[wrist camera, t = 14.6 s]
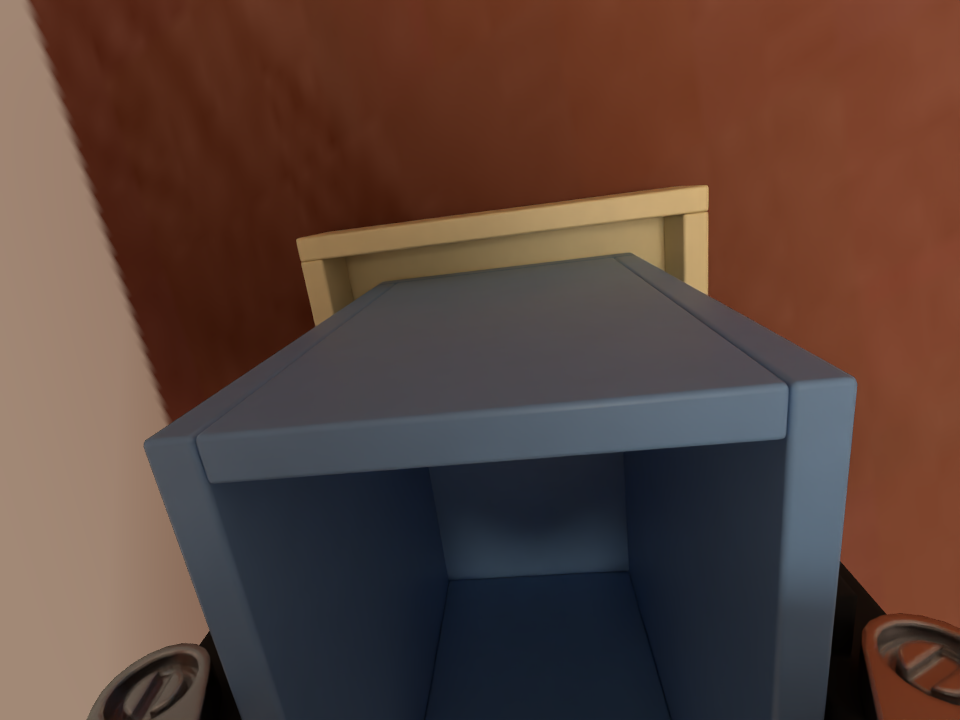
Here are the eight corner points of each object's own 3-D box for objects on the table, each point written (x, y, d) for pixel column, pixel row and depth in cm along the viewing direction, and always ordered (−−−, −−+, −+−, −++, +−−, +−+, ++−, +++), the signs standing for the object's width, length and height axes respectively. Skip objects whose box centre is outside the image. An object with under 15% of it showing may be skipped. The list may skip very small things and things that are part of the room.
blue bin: (380, 281, 13) (139, 442, 5) (631, 251, 12) (862, 377, 4) (436, 582, 15) (346, 1016, 7) (643, 571, 15) (795, 1032, 7)
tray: (684, 590, 15) (707, 646, 14) (405, 604, 16) (390, 658, 14) (679, 185, 12) (709, 184, 10) (327, 231, 13) (294, 238, 11)
